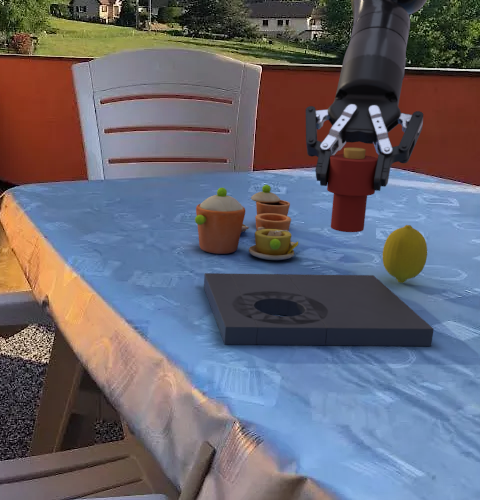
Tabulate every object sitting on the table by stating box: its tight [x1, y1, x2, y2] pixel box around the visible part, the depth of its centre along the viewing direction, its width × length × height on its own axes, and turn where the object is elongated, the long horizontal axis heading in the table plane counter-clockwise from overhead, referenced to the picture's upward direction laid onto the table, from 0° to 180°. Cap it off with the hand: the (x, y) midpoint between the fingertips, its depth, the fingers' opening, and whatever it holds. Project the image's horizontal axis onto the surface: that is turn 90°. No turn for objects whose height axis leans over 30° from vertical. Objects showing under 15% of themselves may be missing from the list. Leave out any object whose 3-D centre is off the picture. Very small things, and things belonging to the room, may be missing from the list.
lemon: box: [382, 224, 428, 284], centre depth 94 cm, size 6×6×8 cm
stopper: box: [326, 147, 378, 233], centre depth 83 cm, size 5×5×10 cm
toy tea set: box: [194, 184, 299, 261], centre depth 113 cm, size 26×16×10 cm, turn 168°
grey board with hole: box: [203, 272, 434, 347], centre depth 83 cm, size 22×18×2 cm
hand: (349, 183), depth 81 cm, fingers closed on stopper, 5 cm apart
